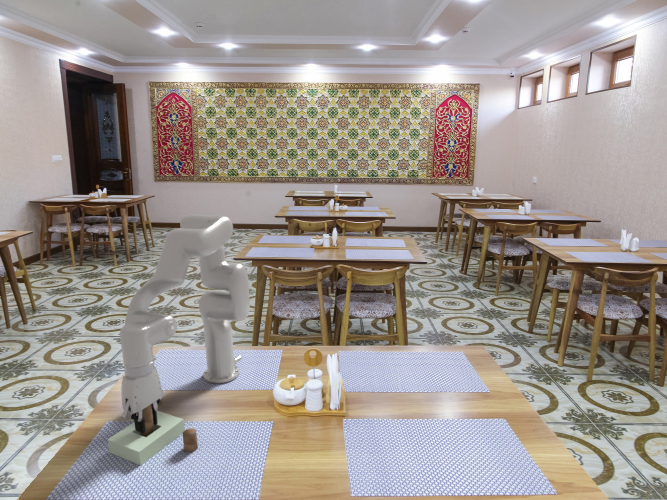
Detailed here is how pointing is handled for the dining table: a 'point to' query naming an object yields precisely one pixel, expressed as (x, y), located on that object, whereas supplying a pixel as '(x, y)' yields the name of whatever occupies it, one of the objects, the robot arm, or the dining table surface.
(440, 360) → the dining table surface
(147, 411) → the long peg
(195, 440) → the short peg
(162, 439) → the hole block
